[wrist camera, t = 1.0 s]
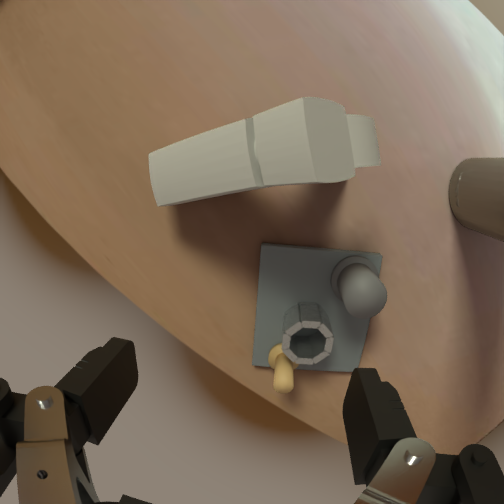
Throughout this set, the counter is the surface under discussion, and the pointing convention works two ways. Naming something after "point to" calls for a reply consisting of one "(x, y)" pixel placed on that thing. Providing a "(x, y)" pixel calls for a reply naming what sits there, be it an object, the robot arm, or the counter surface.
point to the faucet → (266, 152)
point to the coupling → (305, 346)
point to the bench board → (323, 293)
